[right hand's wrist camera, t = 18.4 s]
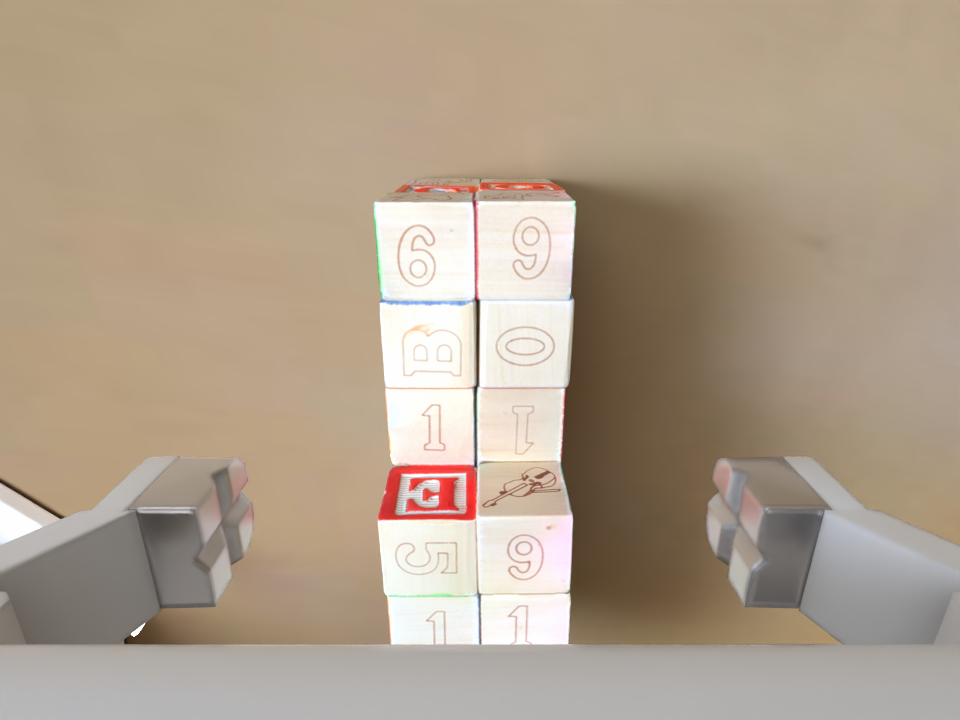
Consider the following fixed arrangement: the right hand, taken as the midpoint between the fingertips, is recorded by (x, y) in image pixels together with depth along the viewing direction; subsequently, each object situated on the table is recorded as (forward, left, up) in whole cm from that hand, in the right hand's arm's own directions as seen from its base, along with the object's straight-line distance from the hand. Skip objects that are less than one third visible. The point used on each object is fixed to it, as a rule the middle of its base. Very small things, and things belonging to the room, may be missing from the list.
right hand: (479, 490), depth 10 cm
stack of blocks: (+5, -4, -18) cm, 19 cm away
